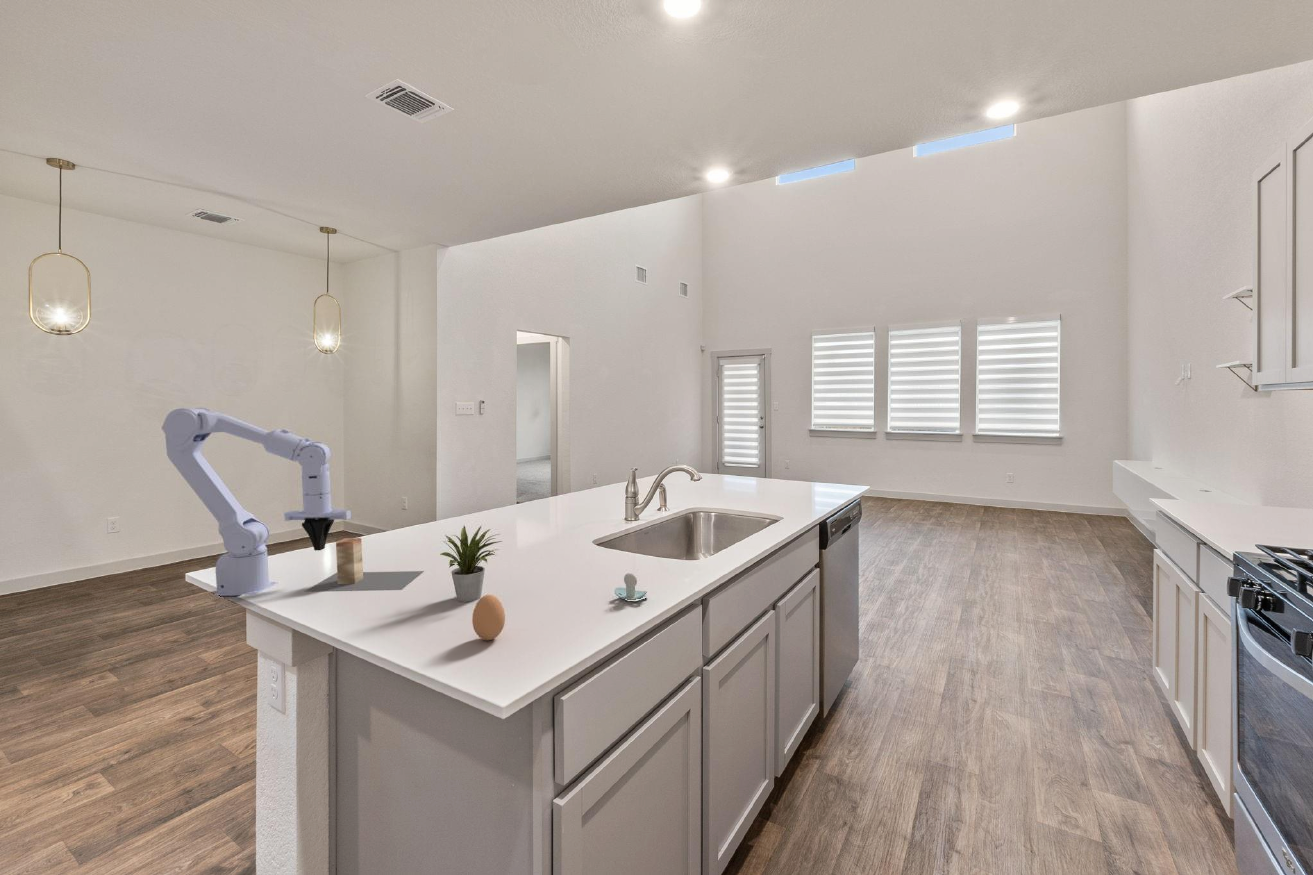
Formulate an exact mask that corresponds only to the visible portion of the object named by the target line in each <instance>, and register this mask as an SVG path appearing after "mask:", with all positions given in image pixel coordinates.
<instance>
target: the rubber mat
mask: <svg viewBox="0 0 1313 875" xmlns="http://www.w3.org/2000/svg"><path fill="white" fill-rule="evenodd" d="M424 572H425V570H415V571H414V570H413V571H410V570H409V571H407V570H406V571H367V572H366V571H363V579H361V580H360V581H358V582H357V583H355V584H338V576H337V572H335V573H333V574H332V575H330V576H328V577H327V578H325V579H323V580H322V581H320V582H318V583H317V584H314V585H313V586H311V587H309V588H308V589H305V590H304V591H303V592H304V593H307V592H308V593H309V592H311V593H313V592H314V593H315V592H353V591H354V592H359V591H362V592H363V591H367V592H368V591H401V590H404V589H405V588H406V587H407V586H408V585H410V584H411V583H412V582H413V581H414V580H416V579H417V578H418V577H419V576H421V575H422V574H423V573H424Z"/></svg>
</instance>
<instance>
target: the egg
mask: <svg viewBox="0 0 1313 875" xmlns="http://www.w3.org/2000/svg"><path fill="white" fill-rule="evenodd" d="M471 620H472V628H473V630H474V632H475V634H476V635H477V636H478V638H480V639H482V640H483V641H493V640H494V639H496V638H497V637H498V636H500V634H501V632H503V630H504V628H505V622H506V614H505V609H504V606H503V605H502V602H501V601H500V599H499V598H498V597H496V596H495V595H493V594H485V595H482V596H481V598H479V599H478V601H477V602H476V604H475V607H474V609H473V612H472V619H471Z"/></svg>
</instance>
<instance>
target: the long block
mask: <svg viewBox="0 0 1313 875" xmlns="http://www.w3.org/2000/svg"><path fill="white" fill-rule="evenodd" d="M362 545H363V544H362V538H361V537H354V538H353V537H350V538H349V537H348V538H347V537H346V538H345V537H344V538H343V539H340V540H338V541H336V542H335V550H336V551H335V552H336V570H337V571H336V573H337V576H338V584H355V583H357V582H358V581H360V580H361V579H363V572H364V569H363V568H364V566H363V565H364V564H363V546H362Z"/></svg>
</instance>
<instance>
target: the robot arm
mask: <svg viewBox="0 0 1313 875" xmlns="http://www.w3.org/2000/svg"><path fill="white" fill-rule="evenodd" d="M161 430H162V431H163V433H164V436H165V437H164V438H165V445H166V446H165V448H166V456H167V458H168V459H169V461H170V462H171V463H172V464H173V466H174V467H175V468H176V470H177V471H178V473H180V475H181V476H182V478H183V479H184V480H185V481H186V482H187V484H188V485H189V487H190V488H191V489H192V491H194V493H195V495H197V497H198V498H199V499H200V501H201V502H202V503H203V505H205V507H206V508H207V509H208V511H209V512H210V513H211V514H212V516H213V517H214V518H215V520H216V521H217V522H218V533H219V535H220V536H221V538H222V540H223V546H224V549H225V551H226V552H227V553H224V554H222V555H220V556H219V557H218V560H217V561H216V563H215V580H216V593H214V596H215V597H220V596H221V597H222V596H223V597H224V596H225V597H226V596H229V597H233V596H242V595H257V594H259V593H262V592H263V591H265V590H268V589H269V588H271V587H273V586H275V585H277V584H278V581H270V578H269V577H270V576H269V561H268V547H267V546H266V544H265V543H266V542H267V541H268V539H269V538H270V532H271V531H270V529H269V527H268V525H267V524H265V523H264V522H263V521H261V520H259V519H257V518H256V516H254V514H252V513H251V512H250V511H247V510H245V509H244V507H242V506H241V504H240V503H239V501H238V500H237V499H236V497H235V496H234V494H232V493H231V491H230V490H229V488H228V487H227V485H226V484H225V483H224V481H223V480H222V479H221V478H220V476H219V475H218V474H217V473H216V471H215V470H214V469H213V467H212V466H211V465H210V463H209V462H208V461H207V460H206V458H205V457H204V456H203V454H202V452H201V451H202V449H203V447H204V444H205V442H206V440H207V439H208V438H209V437H210V435H211V434H212V433H213V434H214V433H225V434H229V435H232V436H235V437H238V438H241V439H245V440H248V441H251V442H254V443H257V444H261V445H262V446H263V448H264V450H265V452H267V453H270V454H272V455H275V456H277V457H278V456H279V457H281V458H284V459H286V460H289V461H293V462H298V464H299V465H300V466H301V484H302V486H301V487H302V506H303V507H302V508H303V509H302V510H289V511H286V512H284V513H283V514H284V521H285V522H289V521H304V522H302V523H301V527H302V528H303V529H304V531H305V532H306V534H307V535H308V537H309V539H310V542H311V543H312V546H313V549H314V551H322V550H324V549H325V548H326V542H327V538H328V535H329V532H330V530H331V527H332V526H333V524H334V522H335V520H342V521H347V520H349V519H351V517H352V514H351V510H348V509H347V510H346V509H345V510H344V509H332V497H331V496H332V493H331V492H332V490H331V475H330V464H329V463H328V462H330V460H331V458H332V452H331V449H330V448H329V446H328V445H326V444H325V443H323V442H322V441H314V442H312V438H310V437H306V438H304V437H301V436H298V435H297V434H293V433H291V430H290V429H287V428H283V429H279V428H277V429H274V430H271V431H269V430H266V429H264V428H262V427H258V426H256V425H253V424H252V423H249V422H247V421H243V420H241V419H239V418H236V417H233V416H231V415H229V414H225V413H222V412H220V411H215V410H213V411H212V410H210V408H209V409H208V408H206V407H205V408H204V407H195V408H185V407H183V408H176V409H172V411H170V412H169V413H168V414H167V415H166V417H165V419H164V421H163V423H162V425H161ZM219 595H220V596H219Z"/></svg>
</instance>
